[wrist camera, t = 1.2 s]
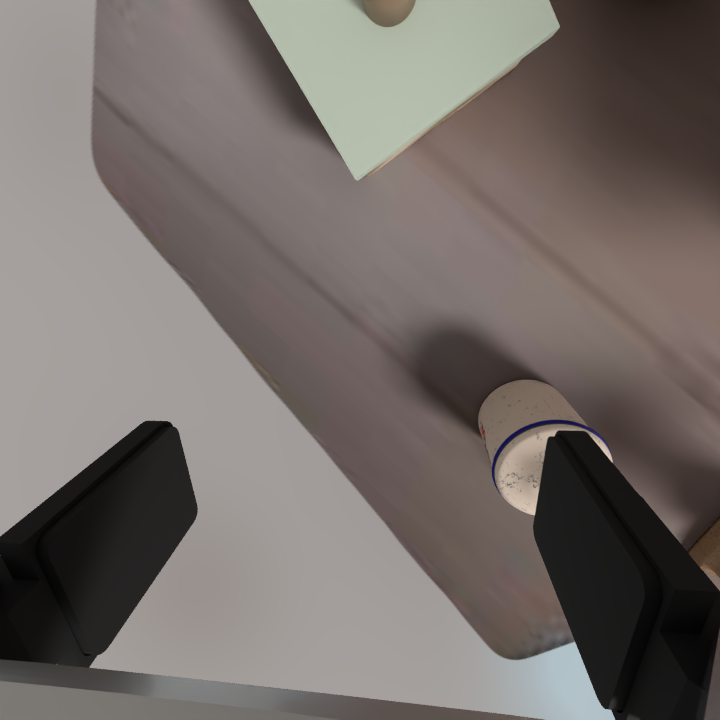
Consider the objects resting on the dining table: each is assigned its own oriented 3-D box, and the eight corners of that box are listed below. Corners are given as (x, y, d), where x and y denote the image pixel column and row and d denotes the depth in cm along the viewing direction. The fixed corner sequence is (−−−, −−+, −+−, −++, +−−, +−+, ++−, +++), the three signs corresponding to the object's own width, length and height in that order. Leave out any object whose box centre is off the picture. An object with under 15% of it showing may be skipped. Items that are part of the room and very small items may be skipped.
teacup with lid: (456, 418, 39) (474, 496, 28) (525, 357, 36) (575, 420, 25) (536, 484, 41) (583, 582, 30) (609, 432, 38) (689, 520, 27)
